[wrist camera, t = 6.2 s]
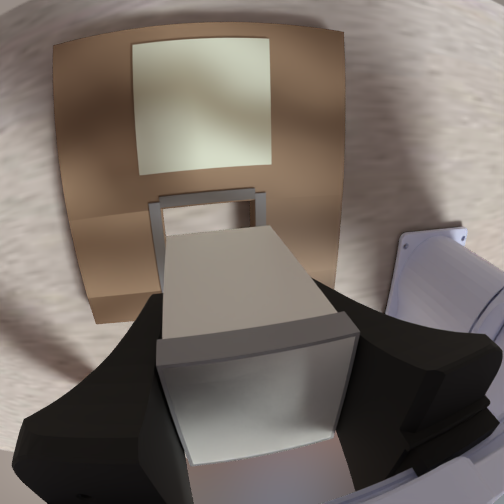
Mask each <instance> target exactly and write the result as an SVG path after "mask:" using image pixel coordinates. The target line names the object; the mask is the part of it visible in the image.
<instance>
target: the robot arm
mask: <svg viewBox="0 0 504 504" xmlns="http://www.w3.org/2000/svg"><path fill="white" fill-rule="evenodd" d="M466 237H467V228H465V227H454V228H444V229H435V230H425V231H416V232H406V233H403V234H402V235H401V236H400V239H399V246H398V252H397V258H396V263H395V269H394V274H393V279H392V284H391V289H390V294H389V299H388V303H387V308H386V312H385V314H383V313H381V312H378V311H376V310H373V309H371V308H369V307H367V306H365V305H362V304H360V303H358V302H356V301H354V300H352V299H350V298H348V297H346V296H344V295H343V294H341V293H339V292H337V291H335V290H333V289H331V288H330V287H328V286H326V285H324V284H322V283H321V282H319V281H317V280H315V279H313V278H312V280H313V281H314V282H315V284H316V285H317V286H318V287H319V289H320V290H321V291H322V293H323V294H324V295H325V297H326V298H327V299H328V300H329V302H330V303H331V304H332V306H333V307H334V308H335V310H336V311H337V312H343V311H345V313H346V314H347V315H348V317H349V318H350V319H351V320H352V322H353V323H354V324H355V325H356V327H357V328H358V329H359V331H360V335H359V340H358V345H357V349H356V354H355V358H354V362H353V367H352V371H351V375H350V379H349V383H348V387H347V391H346V395H345V398H344V402H343V406H342V409H341V413H340V416H339V420H338V423H337V427H336V432H337V435H338V437H339V440H340V443H341V446H342V449H343V452H344V455H345V458H346V461H347V463H348V467H349V470H350V474H351V477H352V480H353V484H354V488H355V491H356V492H353V493H350V494H348V495H345V496H342V497H339V498H336V499H333V500H330V501H327V502H323V503H320V504H493V503H494V502H495V501H496V500H497V499H498V498H500V497H501V496H502V495H503V494H504V272H503V271H502V270H500V269H499V268H497V267H496V266H494V265H493V264H491V263H490V262H488V261H487V260H485V259H484V258H482V257H480V256H479V255H477V254H476V253H474V252H472V251H471V250H469V249H468V248H466V247H464V246H465V241H466ZM405 244H406V245H405ZM404 245H405V246H404ZM162 322H163V293H158V294H152V295H151V296H150V297H149V299H148V300H147V302H146V304H145V305H144V307H143V309H142V310H141V312H140V314H139V315H138V317H137V318H136V320H135V321H134V323H133V324H132V326H131V327H130V329H129V330H128V332H127V333H126V334H125V336H124V337H123V338H122V340H121V341H120V342H119V344H118V345H117V346H116V348H115V349H114V350H113V351H112V352H111V354H110V355H109V356H108V357H107V358H106V359H105V360H104V361H103V362H102V363H101V364H100V365H99V366H98V367H97V368H96V369H95V370H94V371H93V372H92V373H91V374H89V375H88V376H87V377H86V378H85V379H84V380H83V381H82V382H80V383H79V384H78V385H77V386H75V387H74V388H73V389H72V390H70V391H69V392H68V393H66V394H65V395H63V396H62V397H61V398H59V399H58V400H56V401H55V402H53V403H52V404H50V405H48V406H47V407H45V408H43V409H41V410H40V411H38V412H36V413H34V414H33V415H31V416H29V417H27V418H25V419H24V420H23V423H22V426H21V429H20V432H19V436H18V440H17V443H16V447H15V451H14V456H13V461H12V468H13V470H14V472H15V473H16V475H17V476H18V477H19V479H20V480H21V481H22V482H23V483H24V484H25V485H26V486H28V487H29V488H30V489H31V490H32V491H33V492H35V493H36V494H37V495H38V496H39V497H40V498H42V499H43V500H44V501H45V502H47V503H48V504H194V502H193V497H192V493H191V488H190V482H189V477H188V470H187V464H186V458H185V451H184V448H183V445H182V443H181V440H180V437H179V435H178V432H177V429H176V426H175V423H174V420H173V418H172V415H171V412H170V409H169V406H168V403H167V400H166V396H165V393H164V390H163V387H162V384H161V381H160V377H159V374H158V371H157V367H156V346H157V340H159V339H162Z"/></svg>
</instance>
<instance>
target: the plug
mask: <svg viewBox="0 0 504 504" xmlns="http://www.w3.org/2000/svg"><path fill="white" fill-rule="evenodd" d="M359 335H360V331H359V329H358V328H357V327H356V325H355V324H354V323H353V322H352V320H351V319H350V318H349V317H348V315H347V314H346V313H345V311H343V312H337V311H336V310H335V308H334V307H333V306H332V304H331V303H330V302H329V300H328V299H327V298H326V297H325V295H324V294H323V293H322V291H321V290H320V289H319V287H318V286H317V285H316V284H315V282H314V281H313V280H312V278H311V277H310V276H309V274H308V273H307V272H306V271H305V269H304V268H303V267H302V265H301V264H300V263H299V262H298V260H297V259H296V258H295V257H294V255H293V254H292V253H291V251H290V250H289V249H288V248H287V246H286V245H285V244H284V243H283V241H282V240H281V239H280V237H279V236H278V235H277V234H276V232H275V231H274V230H273V229H272V227H271V226H270V225H269V226H258V227H248V228H238V229H229V230H219V231H210V232H200V233H191V234H182V235H173V236H167V237H166V252H165V269H164V290H163V322H162V339H159V340H157V346H156V367H157V371H158V374H159V377H160V381H161V384H162V387H163V390H164V393H165V396H166V400H167V403H168V406H169V409H170V412H171V415H172V418H173V420H174V423H175V426H176V429H177V432H178V435H179V437H180V440H181V443H182V445H183V448H184V451H185V453H186V456H187V458H188V461H189V463H190V466H199V465H207V464H215V463H223V462H229V461H236V460H242V459H248V458H253V457H258V456H263V455H268V454H273V453H278V452H282V451H287V450H291V449H295V448H299V447H303V446H307V445H311V444H314V443H318V442H321V441H325V440H328V439H332V438H333V436H334V433H335V430H336V427H337V423H338V420H339V416H340V413H341V409H342V406H343V402H344V398H345V395H346V391H347V387H348V383H349V379H350V375H351V371H352V367H353V362H354V358H355V354H356V349H357V345H358V340H359Z"/></svg>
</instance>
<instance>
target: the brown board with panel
mask: <svg viewBox="0 0 504 504" xmlns="http://www.w3.org/2000/svg"><path fill="white" fill-rule="evenodd" d="M53 96H54V114H55V128H56V139H57V148H58V157H59V165H60V172H61V179H62V186H63V192H64V198H65V204H66V209H67V214H68V220H69V225H70V229H71V234H72V239H73V243H74V247H75V252H76V256H77V260H78V264H79V268H80V272H81V275H82V279H83V283H84V286H85V290H86V293H87V297H88V300H89V303H90V307H91V310H92V313H93V316H94V319H95V322H96V324H105V323H117V322H128V321H135V320H136V318H137V317H138V315H139V314H140V312H141V310H142V309H143V307H144V305H145V304H146V302H147V300H148V299H149V297H150V296H151V295H152V294H158V293H163V290H164V269H165V252H166V234H165V226H164V217H163V209H166V208H176V207H185V206H195V205H205V204H216V203H227V202H238V201H250V227H258V226H269V225H270V226H271V227H272V229H273V230H274V231H275V232H276V234H277V235H278V236H279V237H280V239H281V240H282V241H283V243H284V244H285V245H286V246H287V248H288V249H289V250H290V251H291V253H292V254H293V255H294V257H295V258H296V259H297V260H298V262H299V263H300V264H301V265H302V267H303V268H304V269H305V271H306V272H307V273H308V274H309V276H310V277H311V278H313V279H315V280H317V281H319V282H321V283H322V284H324V285H326V286H328V287H330V288H331V289H333V290H334V286H335V277H336V268H337V258H338V248H339V236H340V224H341V210H342V195H343V176H344V152H345V51H344V32H341V31H335V30H328V29H321V28H314V27H306V26H296V25H286V24H272V23H252V22H203V23H184V24H171V25H160V26H151V27H143V28H135V29H128V30H122V31H116V32H110V33H105V34H100V35H95V36H90V37H85V38H81V39H77V40H73V41H69V42H65V43H61V44H57V45H54V46H53Z"/></svg>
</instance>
